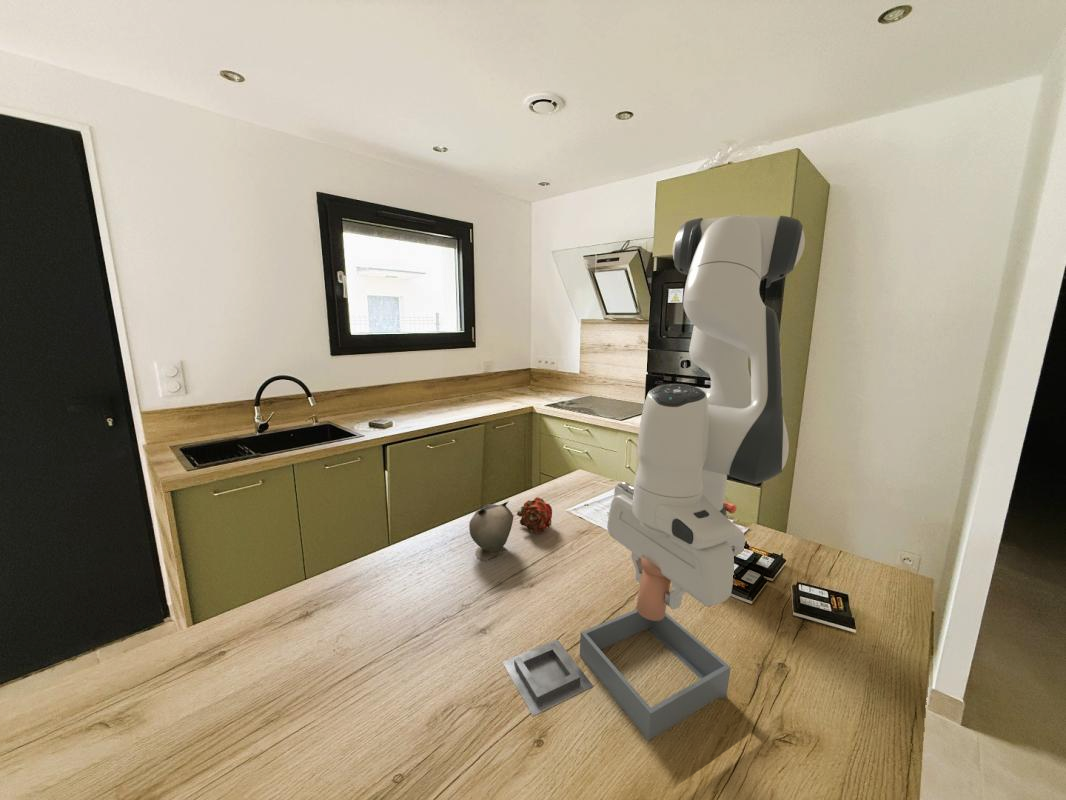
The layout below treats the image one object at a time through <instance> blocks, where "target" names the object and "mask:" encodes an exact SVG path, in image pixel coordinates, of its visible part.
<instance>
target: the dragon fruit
mask: <svg viewBox="0 0 1066 800" xmlns="http://www.w3.org/2000/svg"><path fill="white" fill-rule="evenodd" d="M516 515H517V516H518V517H521V518H520V520H519V524H520V525H521V526H523V527H525V528H526V529H527V530H528V531H531V532H532V533H537V534H538V533H542V532H544V530H546V529H549V528H550V527H551V526H552V517H553V508H552V506H551V505H550V503H546V502H545V500H544V499H542V498H541V497H534V499H533V500H529V499H528V500H527V501H526V502H524V503H523V506H521V507H520V510H518V511H517V513H516Z"/></svg>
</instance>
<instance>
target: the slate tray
mask: <svg viewBox="0 0 1066 800" xmlns="http://www.w3.org/2000/svg"><path fill="white" fill-rule="evenodd" d="M645 630H648V632H650V633H651V634H652V635H653V636H654V637H655V638H656V639H657V640H658V641H659V642H661V644H662V645H664V646H665V647H666V649H668V650H669V651H670V652H671V653H672V654H673V655H674V656H675V657H677V658H678V660H679V661H680V662H681V663H683V664H684V665H685V666H686V667H687V668H688V669H689V670H691V672H693V673H694V675H696V676H697V677H698V678H699V679H698V680H695V682H693V683H692V684H689V685H688V686H686V687H685V688H682V689H681V690H679V691H678V692H676V693H674V694H671V695H670V696H669V697H667V698H664V699H663V700H661V701H660V702H658V703H656V704H654V705H653V706H650V705H649V703H648V702H647V701H645V699H644V698H643V697H642V695H641V694H639V692H638V691H637V689H635V688H634V686H633V685H632V684H631V683H630V682H629V681H628V679H627V678H625V676H624V675H623V674H622V673H621V672H620V670H618V668H617V667H616V666H615V665H614V664H613V662H612V661H611V660H610V659H609V658H608V657H607V656H606V655H605V653H604V652H603V651H602V649H606V648H607V647H610V646H613V645H614V644H616V643H618V642H621V641H623V640H626V639H628V638H630V637H632V636H634V635H636V634H639V633H641V632H643V631H645ZM579 641H580V642H579V657H580V658H581V659H582V660H583V661H584V663H585V665H586V666H587V667H588V668H589V669H590V671H592V673H593V674H594V675H595V677H596V678H597V679H598V681H599V682H600V684H602V685H603V687H604V688H605V689H606V690H607V692H608V693H609V694H610V695H611V697H612V698H613V699H614V701H615V702H616V703H617V704H618V705H619V707H620V708H621V709H622V710H623V712H624V713H625V714H626V716H627V717H628V718H629V719H630V721H631V722H632V723H633V724H634V726H635V727H636V728H637V730H639V731H640V733H641V735H643V737H644V738H645V739H646V741H648V742H649V741H650V740H652V739H654V738H655V737H657V736H659V735H661V734H662V733H663V732H665V731H666V730H669V729H670V728H672V727H673V726H675V725H676V724H679V723H680V722H681V721H683V720H685V719H686V718H688V717H689V716H691V715H693V714H694V713H696V712H697V711H699V710H701V709H702V708H704V707H706V706H707V705H709V704H710V703H712V702H713V701H716V700H717V699H719V698H720V699H722V700H724V699H725V698H727V695H728V688H729V683H730V674H731V669H732V668H731V666H730V665H729V664H728V663H727V662H725V661H724V660H723V659H721V657H720V656H718V655H716V653H715V652H713V651H712V650H711V649H710V648H709V647H708V646H706V645H705V644H704V643H702V642H701V641H700V640H699V639H698V638H697V637H696V636H694V635H693V634H692V633H690V631H688V630H687V629H686V628H684V627H683V626H682V625H681V624H680V623H679V622H678V621H676V620H675V618H673V617H672V616H670V615H669V614H668V613H667V612H666V611H665V617H664V618H663V619H662V620H659V621H653V620H649V619H646V618H644V617H643V616H641V615H640V614H639V613H638V611H637V609H633V610H631V611H628V612H626V613H623V614H621V615H619V616H617V617H615V618H612V619H610V620H606V621H605V622H602V623H600V624H598V625H594V626H593V627H590V628H588V629H585V630H583V631H580V639H579Z"/></svg>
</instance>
